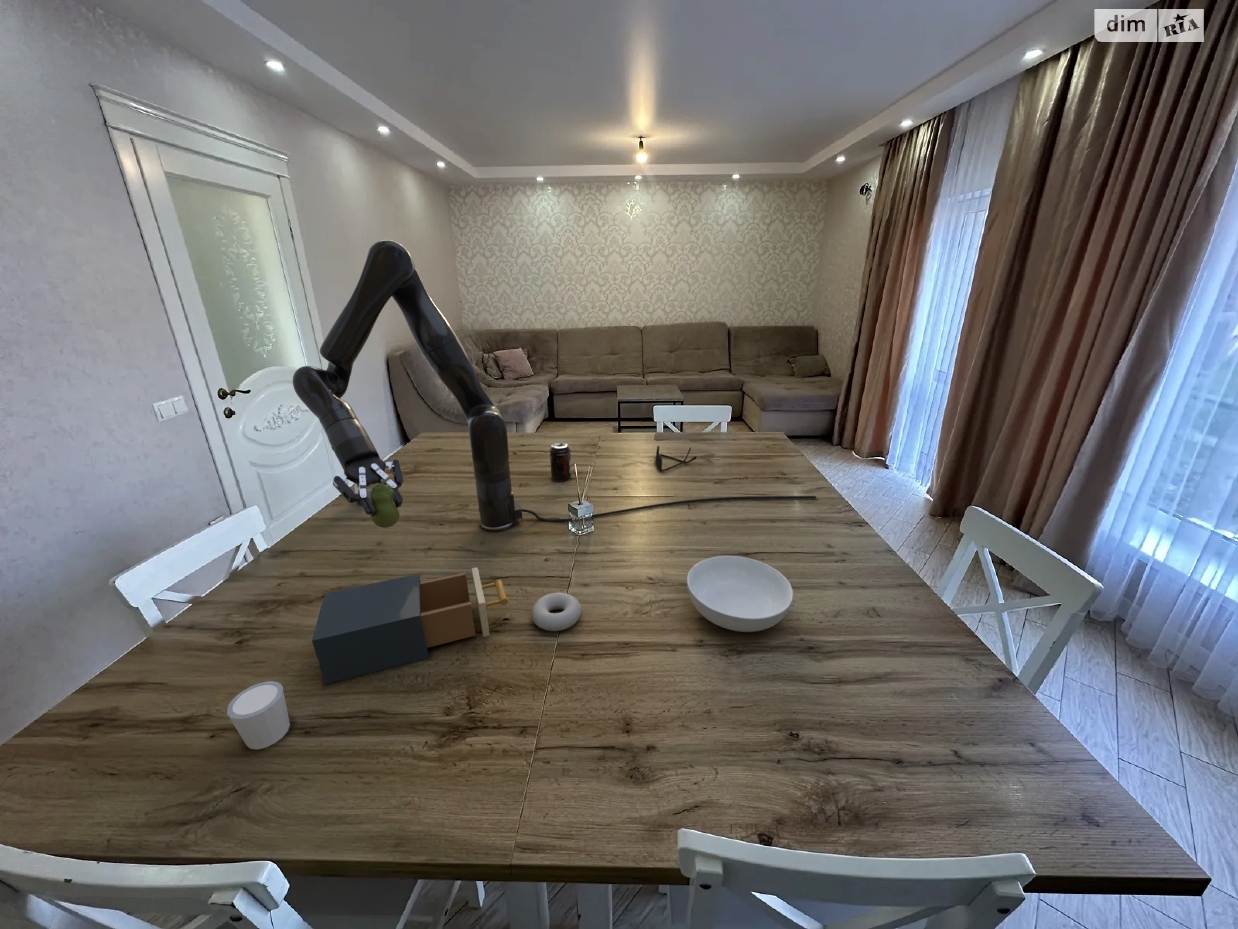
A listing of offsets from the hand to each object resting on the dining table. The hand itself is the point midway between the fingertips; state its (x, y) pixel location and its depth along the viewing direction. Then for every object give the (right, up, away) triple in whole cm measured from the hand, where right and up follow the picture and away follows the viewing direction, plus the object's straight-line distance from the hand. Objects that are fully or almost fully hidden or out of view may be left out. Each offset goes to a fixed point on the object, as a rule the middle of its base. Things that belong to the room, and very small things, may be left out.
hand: (387, 509), depth 103 cm
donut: (+37, -22, -4) cm, 43 cm away
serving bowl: (+74, -21, -3) cm, 77 cm away
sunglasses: (+70, +10, +74) cm, 102 cm away
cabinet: (+4, -25, -11) cm, 28 cm away
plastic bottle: (-28, -2, +47) cm, 55 cm away
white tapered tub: (-4, -32, -29) cm, 43 cm away
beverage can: (+30, +5, +62) cm, 69 cm away
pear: (-1, -4, +3) cm, 5 cm away
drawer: (+17, -22, -7) cm, 29 cm away
